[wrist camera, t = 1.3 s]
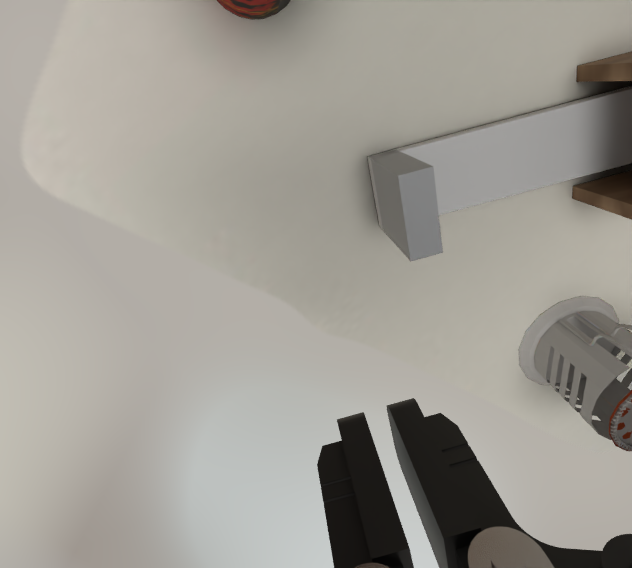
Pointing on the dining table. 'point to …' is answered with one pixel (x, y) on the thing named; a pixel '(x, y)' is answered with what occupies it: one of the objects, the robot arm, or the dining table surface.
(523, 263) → the dining table surface
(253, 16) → the deodorant
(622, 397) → the french press
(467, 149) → the sled
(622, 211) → the tunnel
